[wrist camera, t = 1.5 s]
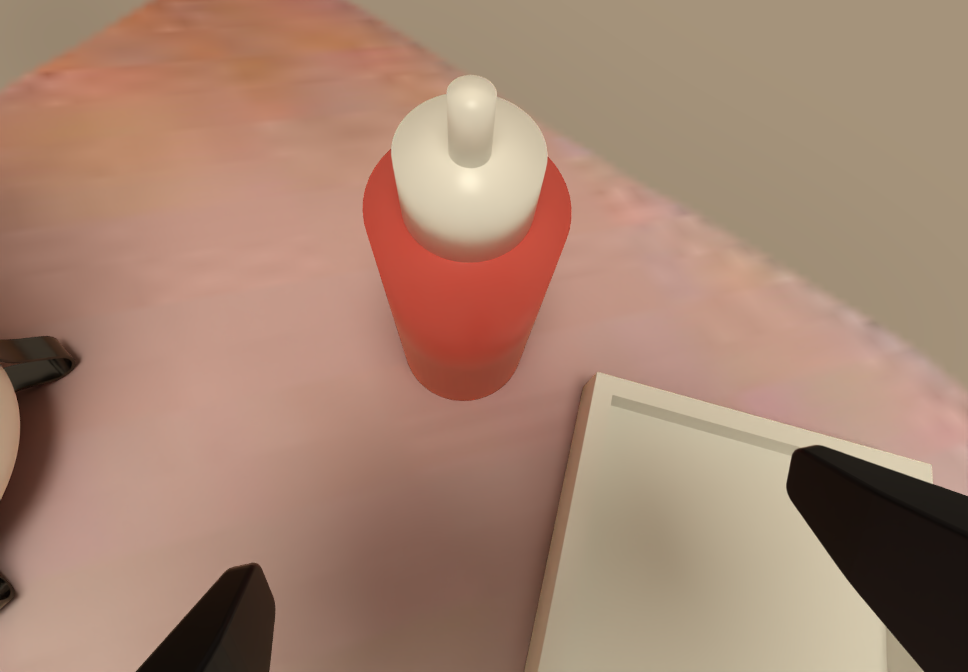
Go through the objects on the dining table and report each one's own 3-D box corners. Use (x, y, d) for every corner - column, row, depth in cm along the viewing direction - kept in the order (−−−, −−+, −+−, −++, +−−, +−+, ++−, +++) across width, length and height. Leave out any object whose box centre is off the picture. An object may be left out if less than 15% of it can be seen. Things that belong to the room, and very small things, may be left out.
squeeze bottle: (533, 307, 24) (631, 32, 11) (505, 415, 22) (581, 246, 9) (425, 278, 24) (385, -28, 11) (388, 381, 22) (281, 166, 9)
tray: (881, 470, 22) (931, 464, 20) (891, 829, 17) (958, 876, 15) (583, 387, 23) (597, 371, 20) (516, 710, 18) (524, 738, 16)
